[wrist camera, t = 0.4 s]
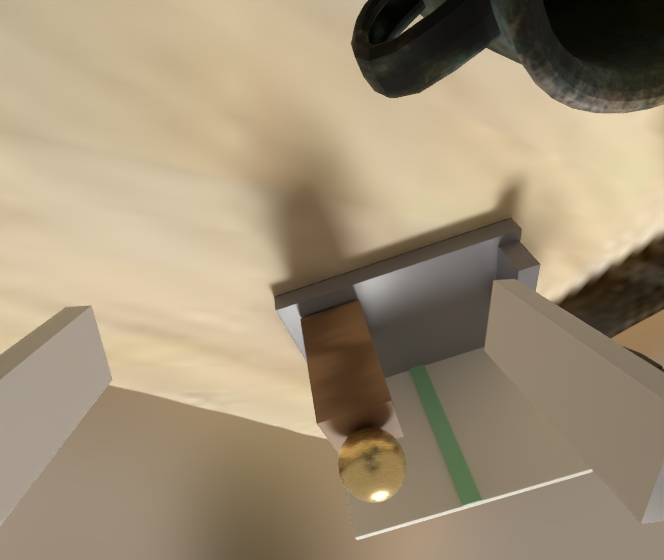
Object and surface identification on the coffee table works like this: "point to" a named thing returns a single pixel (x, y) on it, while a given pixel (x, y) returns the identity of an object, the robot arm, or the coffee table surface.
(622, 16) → the mug
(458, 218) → the coffee table surface
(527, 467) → the stand
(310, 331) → the slider
